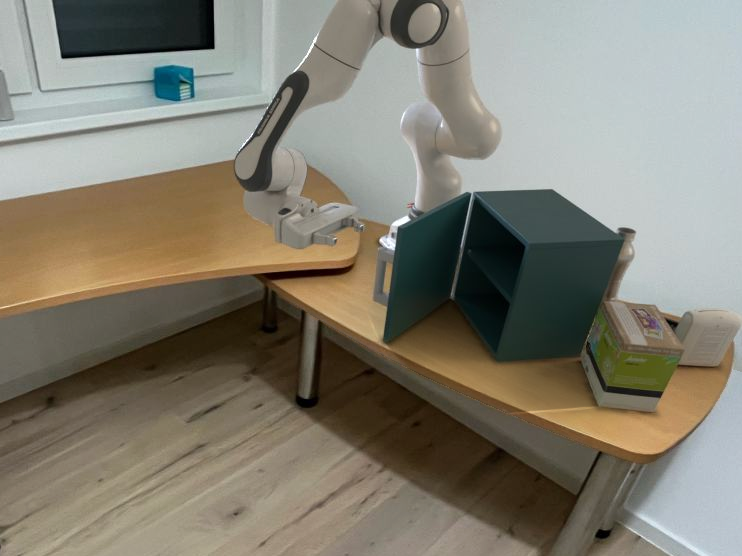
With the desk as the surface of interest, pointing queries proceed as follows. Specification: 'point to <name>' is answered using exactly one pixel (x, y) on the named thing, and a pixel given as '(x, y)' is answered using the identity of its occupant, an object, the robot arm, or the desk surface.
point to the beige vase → (620, 264)
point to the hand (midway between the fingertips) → (349, 235)
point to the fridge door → (421, 265)
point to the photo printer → (706, 335)
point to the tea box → (630, 356)
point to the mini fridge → (533, 273)
